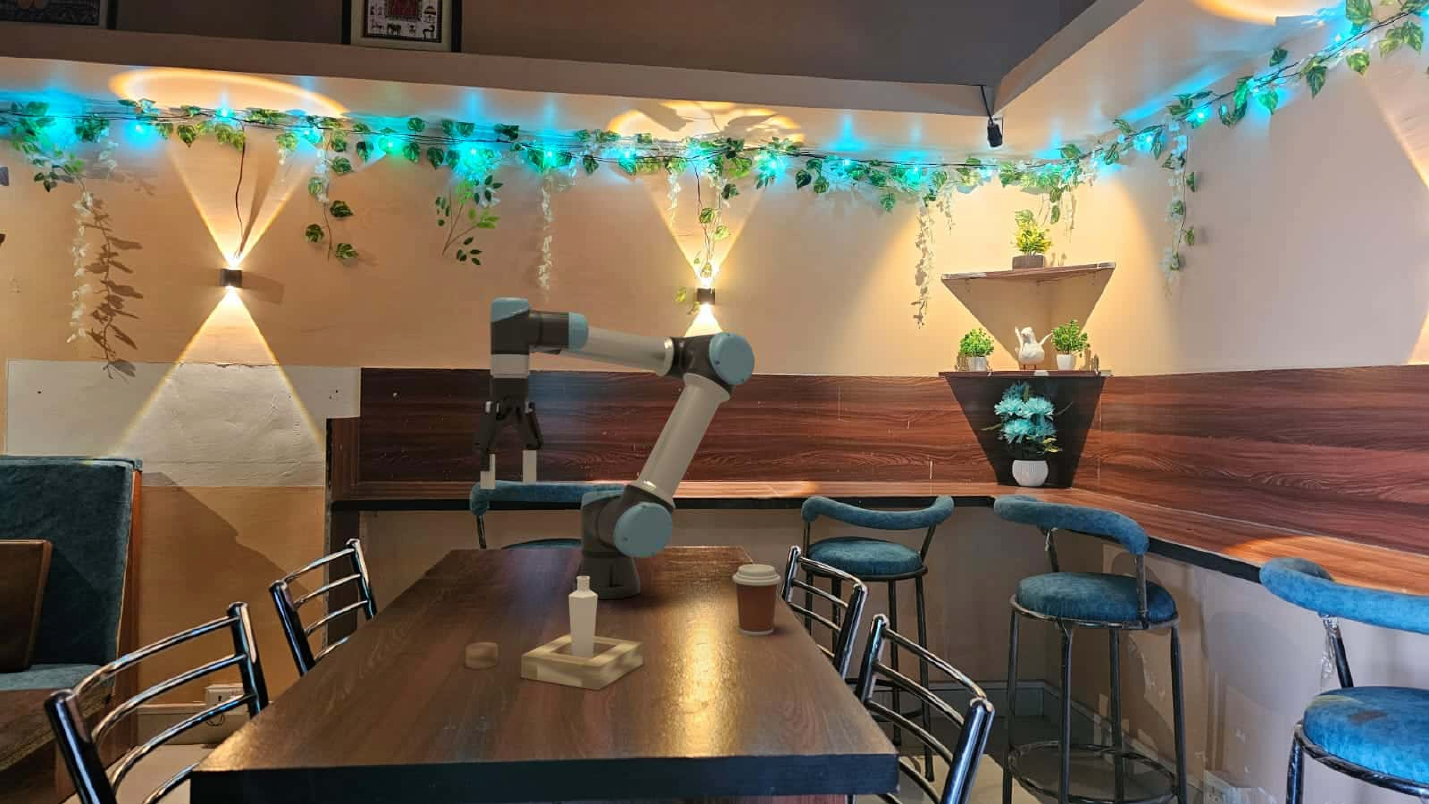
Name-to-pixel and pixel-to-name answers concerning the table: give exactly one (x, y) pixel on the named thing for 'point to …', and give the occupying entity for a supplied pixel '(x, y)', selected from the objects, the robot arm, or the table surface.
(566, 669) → the square wooden frame
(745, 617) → the coffee cup
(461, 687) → the table surface
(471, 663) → the brown short cylinder
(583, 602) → the perfume bottle
